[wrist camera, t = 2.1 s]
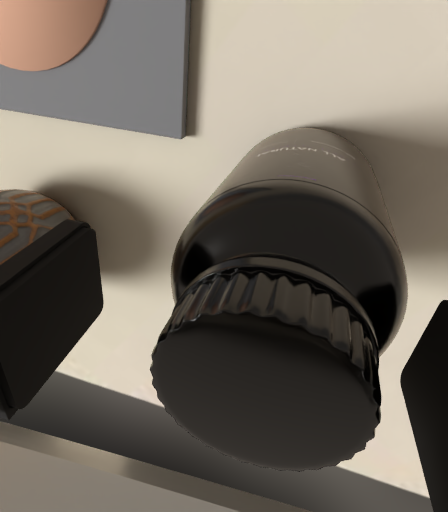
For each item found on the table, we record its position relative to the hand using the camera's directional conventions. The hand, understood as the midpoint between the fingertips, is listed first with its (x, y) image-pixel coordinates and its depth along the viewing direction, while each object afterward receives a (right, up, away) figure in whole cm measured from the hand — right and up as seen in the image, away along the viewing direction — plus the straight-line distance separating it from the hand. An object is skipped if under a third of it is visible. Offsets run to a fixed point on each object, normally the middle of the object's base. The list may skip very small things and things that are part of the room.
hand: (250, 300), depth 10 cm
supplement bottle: (+3, +4, +8) cm, 9 cm away
